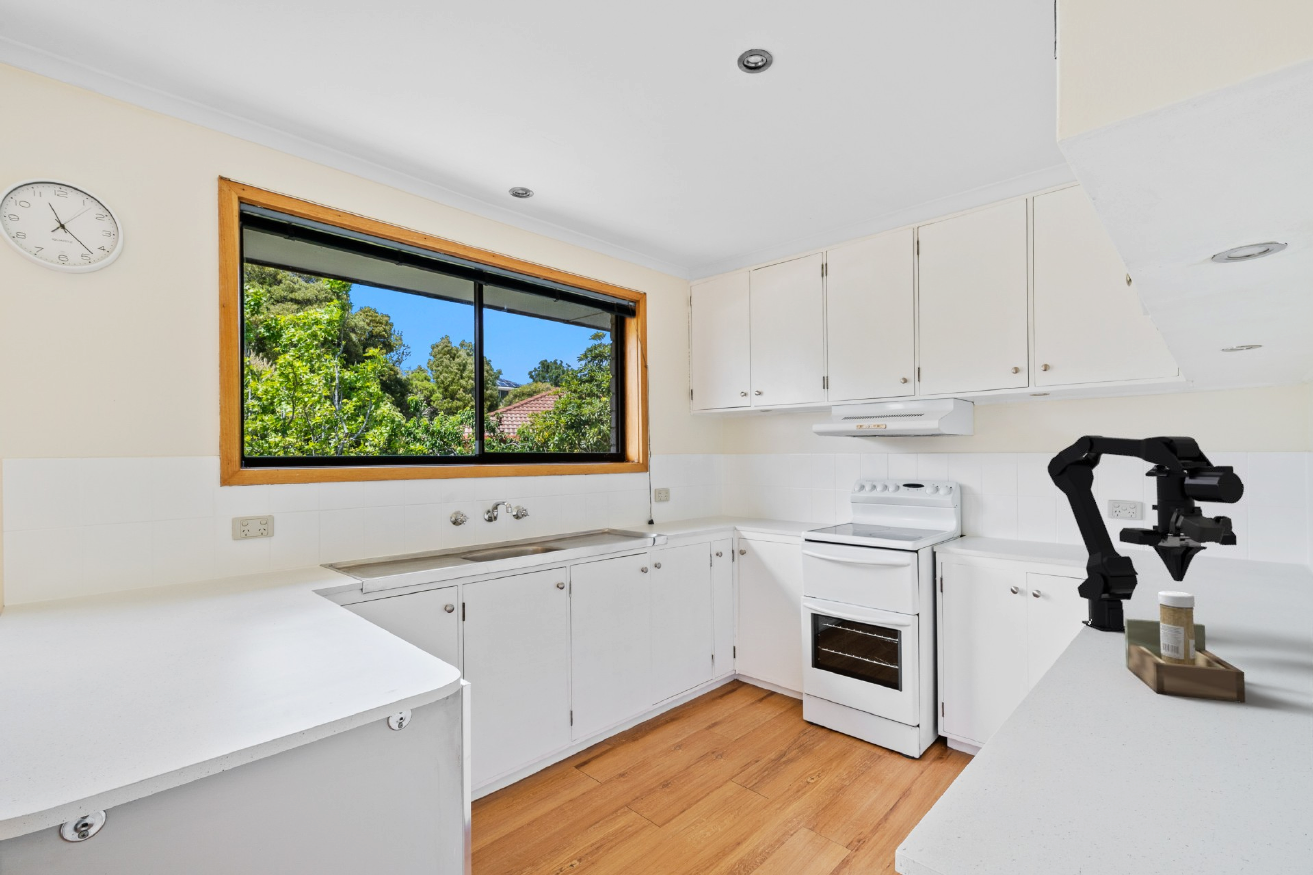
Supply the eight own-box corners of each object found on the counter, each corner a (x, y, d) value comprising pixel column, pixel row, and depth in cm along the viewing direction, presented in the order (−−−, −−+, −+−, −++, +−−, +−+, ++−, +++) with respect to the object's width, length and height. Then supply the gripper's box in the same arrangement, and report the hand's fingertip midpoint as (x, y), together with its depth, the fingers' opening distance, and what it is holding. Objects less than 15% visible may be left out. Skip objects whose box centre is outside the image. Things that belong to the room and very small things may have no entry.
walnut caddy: (1128, 669, 110) (1128, 643, 110) (1206, 676, 107) (1206, 649, 107) (1156, 693, 99) (1156, 664, 99) (1245, 702, 95) (1244, 672, 95)
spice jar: (1204, 680, 101) (1201, 595, 101) (1177, 681, 101) (1174, 595, 101) (1179, 671, 106) (1176, 589, 106) (1153, 671, 105) (1150, 590, 106)
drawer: (1125, 666, 112) (1124, 618, 112) (1203, 673, 108) (1201, 623, 108) (1153, 689, 100) (1151, 636, 101) (1240, 698, 97) (1238, 642, 97)
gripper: (1160, 502, 116) (1163, 589, 115) (1262, 503, 116) (1266, 589, 115) (1116, 499, 127) (1118, 578, 126) (1209, 499, 127) (1212, 578, 126)
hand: (1178, 581), depth 123 cm, fingers closed
